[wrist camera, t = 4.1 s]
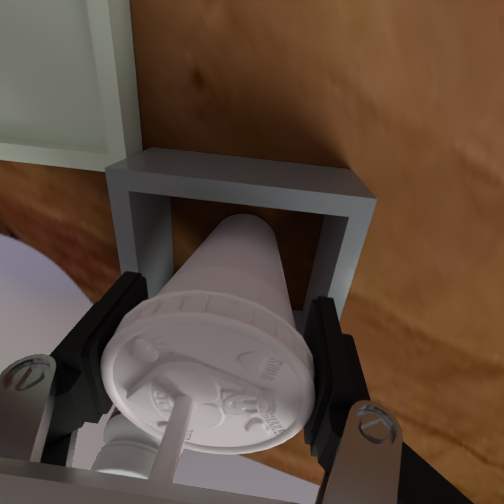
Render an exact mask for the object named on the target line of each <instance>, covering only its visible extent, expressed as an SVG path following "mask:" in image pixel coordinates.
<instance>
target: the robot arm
mask: <svg viewBox="0 0 504 504" xmlns="http://www.w3.org/2000/svg"><path fill="white" fill-rule="evenodd" d="M147 299H149V298H148V289H147V280H146V277H143V276H142V274H141V273H138V272H130V271H125V272H124V273H123V274H122V275H121V276H120V278H119V279H118V280H117V281H116V282H115V283H114V285H113V286H112V287H111V288H110V289H109V290H108V291H107V293H106V294H105V295H104V296H103V297H102V298H101V300H100V301H99V302H96V303H95V304H94V305H93V306H92V307H91V308H90V310H89V311H88V312H87V313H86V314H85V315H84V317H83V318H82V319H81V320H80V321H79V322H78V323H77V324H76V326H75V327H74V328H73V329H72V330H71V331H70V332H69V333H68V335H67V336H66V337H65V338H64V339H63V340H62V341H61V343H60V344H59V345H58V346H57V347H56V348H55V350H54V351H53V352H52V353H51V354H50V355H45V354H36V355H31V356H27V357H24V358H22V359H20V360H17V361H16V362H14V363H13V364H11V365H9V366H8V367H7V368H6V369H5V370H4V371H3V372H2V373H1V374H0V504H298V503H293V502H287V501H281V500H274V499H268V498H262V497H256V496H250V495H244V494H237V493H231V492H225V491H219V490H213V489H206V488H200V487H194V486H187V485H181V484H174V483H168V482H162V481H156V480H149V479H143V478H136V477H130V476H124V475H117V474H111V473H104V472H97V471H91V470H84V469H78V468H71V467H72V461H73V455H74V449H75V443H76V438H77V432H78V429H79V428H81V427H82V426H83V424H84V422H91V423H98V422H99V420H100V418H101V416H102V415H103V414H107V413H108V412H109V410H110V409H111V407H112V405H113V402H112V401H111V399H110V397H109V396H108V394H107V392H106V390H105V388H104V384H103V381H102V378H101V372H100V363H101V358H102V354H103V352H104V349H105V347H106V346H107V344H108V342H109V341H110V340H111V338H112V337H113V336H114V334H115V331H116V329H117V328H118V326H119V324H120V323H121V321H122V319H123V318H124V316H125V315H126V314H127V313H128V312H130V311H131V310H132V309H133V308H135V307H136V306H137V305H139V304H140V303H141V302H142V301H144V300H147ZM303 339H304V341H305V342H306V344H307V346H308V348H309V350H310V352H311V354H312V356H313V361H314V369H315V377H314V388H315V404H314V409H313V412H312V415H311V417H310V419H309V420H308V422H307V423H306V425H305V426H304V440H305V444H310V449H311V456H316V457H318V463H319V464H320V465H321V466H322V467H323V469H324V470H325V471H324V474H323V477H322V481H321V484H320V488H319V491H318V494H317V498H316V501H315V504H474V503H472V502H471V501H470V500H469V499H468V498H467V497H466V496H464V495H463V494H462V493H461V492H460V491H459V490H458V489H457V488H455V487H454V486H453V485H452V484H451V483H450V482H449V481H447V480H446V479H445V478H444V477H443V476H442V475H441V474H439V473H438V472H437V471H436V470H435V469H434V468H433V467H431V466H430V465H429V464H428V463H427V462H426V461H425V460H424V459H422V458H421V457H420V456H419V455H418V454H417V453H416V452H414V451H413V450H412V449H411V448H410V447H409V446H408V445H406V444H405V443H404V442H403V435H402V429H401V427H400V424H399V422H398V421H397V419H396V418H395V416H394V415H393V414H392V413H391V412H390V411H389V410H388V409H387V408H385V407H384V406H382V405H380V404H379V403H376V402H373V401H371V400H370V397H369V393H368V390H367V386H366V382H365V379H364V375H363V372H362V368H361V364H360V361H359V357H358V354H357V350H356V346H355V343H354V339H353V337H352V336H351V335H349V334H342V332H341V328H340V324H339V319H338V315H337V311H336V307H335V302H334V299H333V298H331V297H324V296H318V297H317V299H312V301H311V305H310V309H309V314H308V318H307V322H306V326H305V330H304V334H303Z"/></svg>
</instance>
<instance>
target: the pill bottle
mask: <svg viewBox="0 0 504 504" xmlns="http://www.w3.org/2000/svg"><path fill="white" fill-rule="evenodd" d="M104 442H105V445H104V446H103V447H102V449H101V451H100V452H99V453H98V455H97V458H96V460H95V462H94V464H93V466H92V469H91V471H97V472H104V473H111V474H117V475H124V476H130V477H136V478H143V479H148V478H149V475H150V472H151V469H152V466H153V463H154V460H155V458H156V455H157V452H158V449H159V446H160V443H161V439H159V438H157V437H155V436H152V435H151V434H149V433H147V432H146V431H144V430H142V429H141V428H139V427H137V426H136V425H135V424H134V423H132V422H131V421H130V420H129V419H127V418H126V417H125V416H124V415H123V414H122V413H121V412H120V411H119V410H118V408H117V407H115V409H114V411H113V413H112V415H111V417H110V419H109V420H108V422H107V424H106V427H105V430H104ZM183 449H184V448H182V450H181V453H182V451H183ZM181 453H180V455H181Z"/></svg>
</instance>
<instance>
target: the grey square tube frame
mask: <svg viewBox="0 0 504 504" xmlns="http://www.w3.org/2000/svg"><path fill="white" fill-rule="evenodd" d="M105 173H106V180H107V186H108V192H109V199H110V205H111V211H112V218H113V224H114V230H115V237H116V243H117V249H118V256H119V262H120V269H121V275H122V274H123V273H124V272H125V271H130V272H138V273H141V274H142V276H143V277H146V280H147V289H148V298H149V299H150V298H153V297H155V296H156V295H157V294H158V293H159V292H160V290H161V289H162V288H163V287H164V286H165V285H166V284H167V283H168V282H169V280H170V279H171V278H172V277H173V276H174V263H173V243H172V223H171V203H170V196H174V197H183V198H191V199H200V200H208V201H217V202H225V203H234V204H242V205H251V206H259V207H268V208H276V209H285V210H293V211H302V212H310V213H319V214H325V215H324V219H323V223H322V228H321V232H320V237H319V241H318V245H317V250H316V254H315V259H314V263H313V267H312V272H311V276H310V281H309V285H308V289H307V294H306V298H305V303H304V307H303V311H300V310H292V313H293V317H294V321H295V326H296V330H297V331H298V332H299V333H300V334H301V335H302V337H303V334H304V330H305V326H306V322H307V318H308V314H309V309H310V305H311V301H312V299H317V297H318V296H324V297H331V298H333V299H334V302H335V307H336V311H337V315H338V319H339V320H340V317H341V313H342V310H343V307H344V304H345V301H346V298H347V294H348V291H349V288H350V285H351V282H352V278H353V275H354V272H355V269H356V266H357V263H358V259H359V256H360V253H361V250H362V247H363V244H364V240H365V237H366V234H367V231H368V228H369V224H370V221H371V218H372V215H373V212H374V209H375V205H376V202H377V198H376V197H375V196H374V194H373V193H372V192H371V191H370V190H369V189H368V188H367V186H366V185H365V184H364V183H363V182H362V181H361V180H360V178H359V177H358V176H357V175H356V174H355V173H354V171H353V170H352V169H345V168H336V167H327V166H318V165H309V164H300V163H291V162H282V161H274V160H265V159H256V158H247V157H238V156H229V155H220V154H211V153H202V152H193V151H184V150H175V149H166V148H157V147H151V148H148V149H146V150H144V151H142V152H139V153H137V154H135V155H132V156H130V157H128V158H125V159H123V160H121V161H119V162H116V163H114V164H112V165H109V166H107V167H105Z"/></svg>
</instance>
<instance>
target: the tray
mask: <svg viewBox="0 0 504 504" xmlns="http://www.w3.org/2000/svg"><path fill="white" fill-rule="evenodd" d="M142 151H143V146H142V135H141V125H140V114H139V103H138V92H137V81H136V70H135V59H134V48H133V37H132V26H131V15H130V4H129V0H0V160H7V161H15V162H24V163H33V164H41V165H50V166H58V167H67V168H76V169H84V170H93V171H102V172H105V167H107V166H109V165H112V164H114V163H116V162H119V161H121V160H123V159H125V158H128V157H130V156H132V155H135V154H137V153H139V152H142Z"/></svg>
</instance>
